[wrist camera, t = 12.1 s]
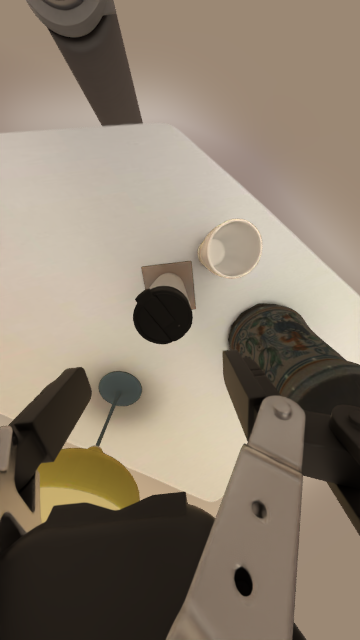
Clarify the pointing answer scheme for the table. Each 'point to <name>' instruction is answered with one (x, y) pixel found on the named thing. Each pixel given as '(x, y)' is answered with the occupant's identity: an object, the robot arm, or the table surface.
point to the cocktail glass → (92, 462)
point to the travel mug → (163, 310)
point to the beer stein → (295, 358)
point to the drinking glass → (231, 249)
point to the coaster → (176, 268)
